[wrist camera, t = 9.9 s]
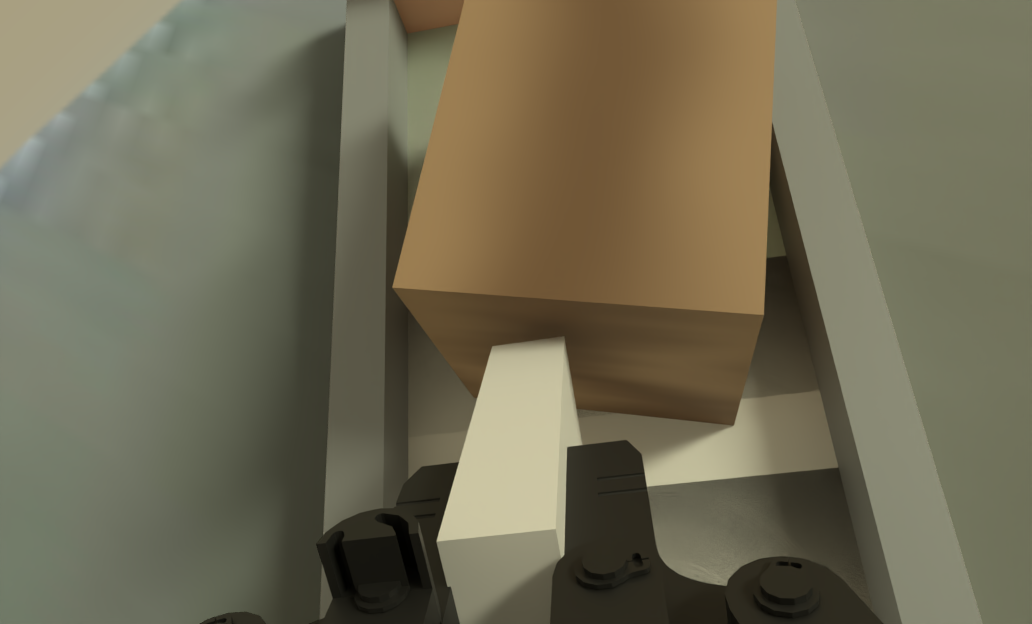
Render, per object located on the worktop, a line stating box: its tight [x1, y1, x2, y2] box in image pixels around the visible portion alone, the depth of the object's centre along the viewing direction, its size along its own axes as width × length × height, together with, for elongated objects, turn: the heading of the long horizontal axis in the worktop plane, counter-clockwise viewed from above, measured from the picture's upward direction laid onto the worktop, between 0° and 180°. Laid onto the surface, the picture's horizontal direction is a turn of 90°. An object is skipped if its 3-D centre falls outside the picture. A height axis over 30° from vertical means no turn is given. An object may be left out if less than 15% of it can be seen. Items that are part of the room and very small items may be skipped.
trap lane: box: [319, 0, 983, 624], centre depth 19 cm, size 14×36×5 cm, turn 3°
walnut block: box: [392, 0, 777, 426], centre depth 19 cm, size 7×10×7 cm
